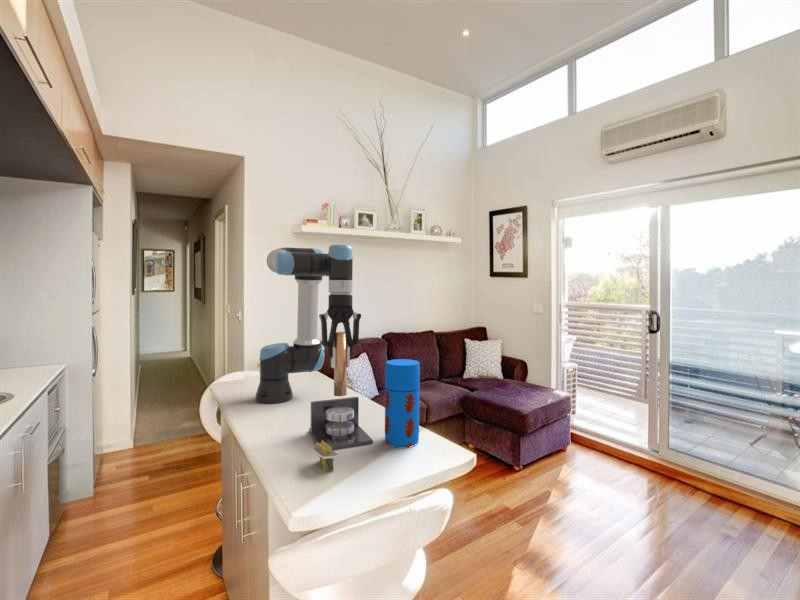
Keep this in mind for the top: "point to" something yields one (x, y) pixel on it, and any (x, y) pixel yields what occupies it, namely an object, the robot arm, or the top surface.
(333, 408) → the collar stand
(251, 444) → the top surface
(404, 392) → the thermos
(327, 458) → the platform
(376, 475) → the top surface
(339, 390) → the copper tube
